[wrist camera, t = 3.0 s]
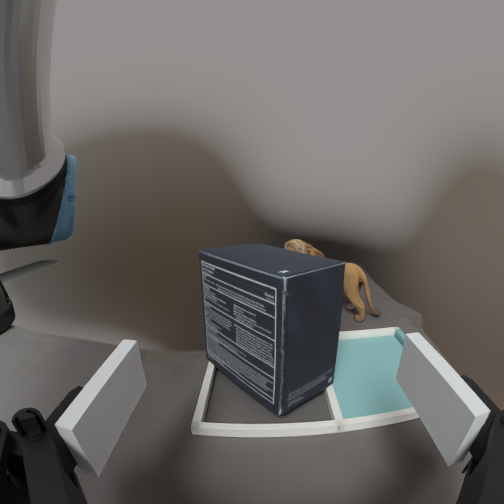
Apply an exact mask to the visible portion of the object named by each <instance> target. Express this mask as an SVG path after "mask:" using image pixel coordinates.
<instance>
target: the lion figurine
mask: <svg viewBox="0 0 504 504" xmlns="http://www.w3.org/2000/svg"><path fill="white" fill-rule="evenodd" d="M285 249H287V250H292V251H297V252H301V253H306V254H310V255H315V256H320V257H324V258H325V256H324V255H323V253H322V252H320V251H319V250H317V249H315V248H313V247H312V246H311V245H310V244H307V243H306V242H304V241H301V240H299V239H293V240H291V241H288V242H287V243H285ZM362 283H363V286H364V290H365V294H366V299H367V303H368V306H369V308H370V310H371V311H372V313H374V314H375V315H381V312H380V311H378V310H377V309H375V308H374V307H373V305H372V303H371V298H370V292H369V286H368V281H367V278H366V276H365V274H364V272H363V271H362V269H361V268H360V267H359V266H357V265H355V264H352V263H345V273H344V288H343V289H344V292H345V294H346V296H347V298H348V299H349V300H350V301H351V302H352V304H351V303H349V304H348V305H347V308H348V309H355V308H357V309H358V311H359V314H356V315H355V316H354V319H355V321H358V322H360V321H363V320H364V318H365V305H364V303H363V302H362V300H361V298H360V296H359V292H360V289H361V287H362Z"/></svg>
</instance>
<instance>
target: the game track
mask: <svg viewBox="0 0 504 504" xmlns="http://www.w3.org/2000/svg"><path fill="white" fill-rule="evenodd" d="M396 338H397V339H396ZM404 339H405V334H404V333H403V332H402V331H401V330H400V328H399V327H391V328H381V329H370V330H357V331H343V332H339V340H338V349H337V357H336V364H335V372H334V380H333V383H332V384H331V385H330V386H328V387H327V388H326V389H324V394H325V397H326V401H327V405H328V408H329V412H330V416H331V419H332V420H329V421H318V422H304V423H285V424H226V423H206V422H204V418H205V414H206V410H207V406H208V401H209V397H210V393H211V388H212V384H213V380H214V375H215V371H216V366H214V365H213V364H212V363H211V362H210V361H209V363H208V367H207V370H206V374H205V378H204V381H203V385H202V388H201V392H200V396H199V399H198V403H197V406H196V410H195V414H194V417H193V421H192V424H191V430H192V434H194V435H207V436H225V437H287V436H305V435H318V434H328V433H337V432H346V431H353V430H360V429H366V428H372V427H378V426H384V425H389V424H394V423H399V422H403V421H408V420H412V419H416V418H420V417H419V416H418V414H417V412H416V411H415V409H414V407H413V406H412V404H411V403H410V401H409V399H408V398H407V396H406V395H405V393H404V391H403V390H402V388H401V387H400V385H399V383H398V382H397V380H396V375H397V371H398V367H399V363H400V358H401V354H402V349H403V344H404ZM400 343H401V344H400Z"/></svg>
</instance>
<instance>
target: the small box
mask: <svg viewBox="0 0 504 504" xmlns="http://www.w3.org/2000/svg"><path fill="white" fill-rule="evenodd" d="M199 261H200V270H201V281H202V299H203V312H204V325H205V340H206V358H207V359H208V360H209V361H210V362H211V363H212V364H213V365H214V366H216V367H217V368H218V369H219V370H220V371H222V372H223V373H224V374H225V375H226V376H228V377H229V378H230V379H231V380H232V381H234V382H235V383H236V384H238V385H239V386H240V387H241V388H242V389H244V390H245V391H246V392H247V393H249V394H250V395H251V396H253V397H254V398H255V399H256V400H258V401H259V402H260V403H262V404H263V405H264V406H266V407H267V408H268V409H270V410H271V411H272V412H274V413H275V414H276V415H278V416H279V415H283V414H285V413H287V412H288V411H290V410H291V409H293V408H295V407H297V406H298V405H300V404H301V403H303V402H305V401H306V400H308V399H309V398H311V397H313V396H314V395H316V394H318V393H319V392H322V391H323V390H324V389H326V388H327V387H328V386H330V385H331V384H332V383H333V380H334V372H335V364H336V357H337V349H338V340H339V331H340V321H341V312H342V301H343V288H344V273H345V262H343V261H338V260H334V259H329V258H324V257H320V256H315V255H310V254H306V253H301V252H297V251H292V250H287V249H283V248H278V247H273V246H268V245H264V244H259V243H252V244H243V245H235V246H227V247H218V248H211V249H202V250H199Z"/></svg>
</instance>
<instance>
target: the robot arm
mask: <svg viewBox="0 0 504 504" xmlns="http://www.w3.org/2000/svg"><path fill="white" fill-rule="evenodd" d="M56 3H57V0H0V251H1V250H8V249H15V248H22V247H29V246H37V245H45V244H48V245H50V244H52V243H53V242H58V241H63V240H67V239H68V238H70V237H71V236H72V234H73V232H74V226H75V191H76V169H77V159H76V157H75V156H72V155H69V154H67V155H65V150H64V146H63V144H62V143H61V141H60V140H59V139H58V138H56V137H55V136H53V135H52V131H51V114H50V63H51V46H52V33H53V24H54V16H55V9H56ZM14 319H15V312H14V308H13V304H12V301H11V299H10V298H9V296H8V294H7V292H6V290H5V288H4V286H3V285H2V282H1V280H0V333H1V332H3V331H4V330H6V329H7V328H8V327H9V326H10V325H11V324H12V323H13V321H14ZM396 380H397V382H398V383H399V385H400V387H401V388H402V390H403V391H404V393H405V395H406V396H407V398H408V399H409V401H410V403H411V404H412V406H413V407H414V409H415V411H416V412H417V414H418V416H419V417H420V419H421V421H422V422H423V424H424V426H425V427H426V429H427V431H428V432H429V434H430V436H431V437H432V439H433V441H434V443H435V444H436V446H437V448H438V449H439V451H440V453H441V455H442V456H443V458H444V460H445V462H446V464H447V465H448V466H451V465H453V464H456V463H458V462H461V461H463V460H464V458H465V456H466V455H467V453H468V451H470V453H471V455H472V457H471V459H470V460H469V462H468V464H467V465H466V467H465V468H464V470H463V471H462V473H464V472H465V471H466V470H467V471H466V475H465V478H464V482H463V485H462V488H461V491H460V494H459V497H458V500H457V503H456V504H504V410H501V411H500V409H499V408H498V407H497V406H496V405H495V404H494V403H493V402H492V401H491V400H490V398H489V397H488V396H487V395H486V394H485V393H483V391H482V390H481V388H479V386H478V385H477V384H476V383H475V382H474V381H473V380H472V379H470V378H468V377H466V376H464V375H463V376H459V375H458V374H457V373H456V372H455V370H454V369H453V368H452V367H451V366H450V365H449V364H448V363H447V362H446V361H445V360H444V359H443V358H442V357H441V355H440V354H439V353H438V352H437V351H436V350H435V349H434V348H433V347H432V346H431V345H430V344H429V343H428V342H427V341H426V340H425V339H424V338H423V337H422V336H421V335H420V334H419V333H418V332H417V333H410V334H405V339H404V344H403V349H402V354H401V358H400V363H399V367H398V371H397V375H396ZM146 386H147V382H146V378H145V374H144V370H143V366H142V361H141V357H140V352H139V348H138V343H137V341H135V340H123V341H122V342H121V343H120V344H119V345H118V347H117V348H116V349H115V350H114V351H113V352H112V354H111V355H110V356H109V357H108V359H107V360H106V361H105V362H104V363H103V365H102V366H101V367H100V368H99V369H98V371H97V372H96V373H95V374H94V376H93V377H92V378H91V379H90V380H89V382H88V383H87V384H86V385H85V387H80V386H78V387H77V388H75V389H73V390H72V391H70V392H69V393H68V394H67V396H66V397H65V398H64V400H62V402H61V403H60V404H59V406H57V408H56V409H55V410H54V411H53V412H52V414H51V415H50V416H49V417H48V419H47V420H46V421H44V419H43V417H42V415H41V413H40V411H38V410H37V409H34V408H24V409H21V410H19V411H18V412H16V413H15V415H14V416H13V417H12V423H13V425H14V427H15V428H16V430H17V432H14V431H10V430H9V429H8V427H7V425H6V424H5V423H4V422H3V421H0V504H87V502H86V499H85V497H84V494H83V491H82V489H81V486H80V483H79V481H78V478H77V475H76V473H75V472H74V468H75V466H76V465H78V466H79V468H80V469H81V471H82V472H83V473H85V474H89V475H92V476H95V477H98V478H99V477H100V475H101V473H102V471H103V469H104V467H105V465H106V463H107V461H108V459H109V457H110V455H111V453H112V451H113V449H114V447H115V445H116V443H117V441H118V439H119V437H120V435H121V434H122V432H123V430H124V428H125V426H126V424H127V422H128V420H129V418H130V416H131V415H132V413H133V411H134V409H135V407H136V405H137V403H138V401H139V400H140V398H141V396H142V394H143V392H144V390H145V388H146Z"/></svg>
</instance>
